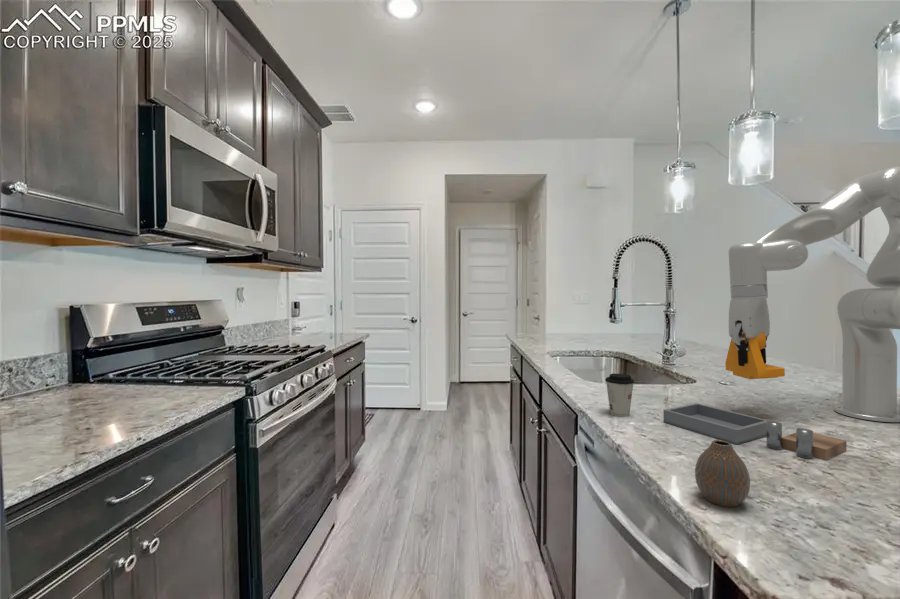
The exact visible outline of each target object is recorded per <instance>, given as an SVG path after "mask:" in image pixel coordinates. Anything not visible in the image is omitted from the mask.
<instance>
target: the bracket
mask: <svg viewBox="0 0 900 599" xmlns="http://www.w3.org/2000/svg"><path fill="white" fill-rule="evenodd" d="M742 337H743V338H747V337H746V334H744V335H742ZM747 340H748V338H747ZM747 340H742V341H744V342H745V343H747ZM748 342H749V351H747V357H748V362H747V363H746V364H744V366H739V364H738V350H737V349H736V345H735V343H734V342H733V341H732V339H730V342H729V346H728V349H727V350H728V351H727V354H726V358H725V363H724V364H725V371H730V372H732V375H733V376H737V377H739V378H744V379H747V380H758V379H759V380H760V379H761V380H762V379H775V378H781V377H785V374H786V372H785V367H781V366H776V365H771V364H767V363H766V364H764V361H763V358H762V355H761V352H760V350H761V349H763V348H764V347H765V345H767V341H766V337H765V334H764V333H763V332H762V333H761V334H760V335H759V336H758V337H755V338H752V339H750V341H748Z"/></svg>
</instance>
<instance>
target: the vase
mask: <svg viewBox="0 0 900 599" xmlns="http://www.w3.org/2000/svg"><path fill="white" fill-rule="evenodd" d="M694 476H695V477H694V478H695V482H696V485H697V488H698V489H699V491H700V493H701V495H703V497H704V498H705V499H707V500H708V501H709V502H710V503H713V504H715V505H717V506H720V507H726V508H734V507H737V506H739V505H741V504H743V502H745V501H746V499H747V498H748V495H749V493H750V491H751V490H750V489H751V478H750V473H749V469H748V468H747V466H746V463H745V462H744V461H743V460H742V458H741V457H740V455H738V453H737V452H736V450H734V447H733V444H732V443H730V442H727V441H723V440H720V439H714V440H712V442H711V443H710V444H709V446H708V447H707V448H705V450H704V451H703V452H702V453H701V454H700V455H699V456H698V458H697V461H696V463H695V468H694Z"/></svg>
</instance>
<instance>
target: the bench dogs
mask: <svg viewBox="0 0 900 599" xmlns="http://www.w3.org/2000/svg"><path fill="white" fill-rule="evenodd" d="M795 433H796V452H795V454H796V457H798V458H801V459H805V460H812V459H814V457H813V433H814V431H813V430H812V429H809V428H803V427H797V428H796V432H795ZM782 437H783V423H781V422H779V421H775V420H769V421H767V436H766V447H767V448H769V449H772V450H775V451H776V450H777V451H781V450H782V449H783V448H782Z"/></svg>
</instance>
